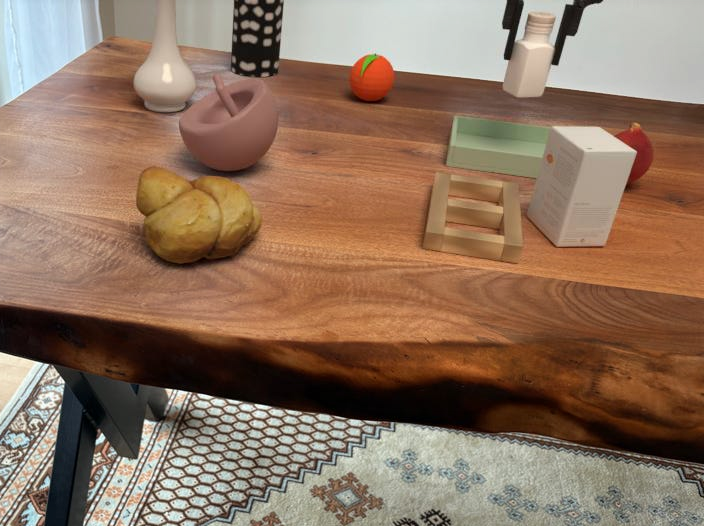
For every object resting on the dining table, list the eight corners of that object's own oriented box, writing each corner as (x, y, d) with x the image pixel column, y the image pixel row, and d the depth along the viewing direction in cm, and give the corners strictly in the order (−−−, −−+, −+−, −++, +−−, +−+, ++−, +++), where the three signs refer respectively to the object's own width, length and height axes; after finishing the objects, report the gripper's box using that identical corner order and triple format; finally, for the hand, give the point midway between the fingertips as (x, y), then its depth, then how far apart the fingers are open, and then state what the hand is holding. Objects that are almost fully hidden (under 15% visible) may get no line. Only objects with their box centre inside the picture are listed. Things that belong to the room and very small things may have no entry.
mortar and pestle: (171, 152, 100) (171, 60, 93) (260, 149, 102) (267, 59, 95) (187, 188, 90) (188, 88, 84) (285, 184, 92) (294, 87, 86)
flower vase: (239, 116, 113) (250, -78, 99) (114, 122, 108) (106, -81, 94) (216, 91, 123) (223, -89, 109) (101, 95, 119) (92, -92, 104)
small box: (605, 248, 82) (640, 151, 76) (554, 248, 81) (585, 151, 75) (571, 216, 88) (600, 125, 82) (524, 216, 88) (550, 124, 82)
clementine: (377, 111, 118) (385, 63, 114) (336, 102, 121) (342, 55, 116) (396, 99, 123) (404, 53, 119) (357, 91, 126) (363, 45, 122)
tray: (561, 148, 107) (567, 129, 105) (568, 183, 97) (575, 161, 95) (450, 134, 110) (454, 115, 109) (445, 166, 100) (450, 145, 98)
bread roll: (245, 221, 83) (250, 149, 79) (282, 261, 76) (289, 184, 72) (130, 235, 79) (128, 160, 75) (157, 279, 72) (156, 199, 68)
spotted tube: (243, 78, 130) (250, -55, 118) (223, 66, 136) (228, -63, 124) (286, 75, 133) (297, -56, 121) (265, 62, 139) (273, -63, 127)
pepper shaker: (526, 89, 101) (547, 10, 95) (543, 98, 97) (566, 17, 92) (499, 89, 100) (518, 11, 94) (516, 99, 97) (537, 18, 91)
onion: (623, 177, 99) (645, 115, 94) (650, 195, 94) (675, 130, 90) (582, 178, 98) (602, 115, 94) (608, 196, 93) (630, 131, 89)
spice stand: (514, 199, 92) (518, 183, 90) (518, 264, 78) (523, 246, 77) (432, 187, 94) (435, 171, 92) (422, 248, 80) (426, 231, 79)
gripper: (503, -170, 82) (455, 59, 95) (686, -160, 78) (610, 76, 91) (502, -169, 88) (457, 45, 101) (672, -161, 84) (603, 61, 97)
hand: (530, 59), depth 96 cm, fingers closed on pepper shaker, 5 cm apart
